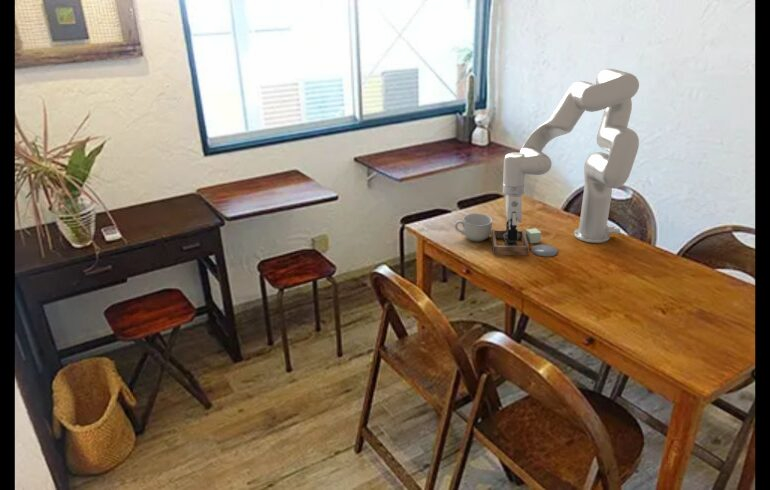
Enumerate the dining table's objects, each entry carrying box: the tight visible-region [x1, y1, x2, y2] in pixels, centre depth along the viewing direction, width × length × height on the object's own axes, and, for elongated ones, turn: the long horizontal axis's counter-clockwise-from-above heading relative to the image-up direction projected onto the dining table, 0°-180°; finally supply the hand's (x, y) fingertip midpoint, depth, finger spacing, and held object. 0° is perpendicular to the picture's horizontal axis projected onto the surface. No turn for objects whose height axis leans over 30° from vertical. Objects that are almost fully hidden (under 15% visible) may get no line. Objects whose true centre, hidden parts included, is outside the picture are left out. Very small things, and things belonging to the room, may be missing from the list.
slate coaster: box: [530, 243, 559, 258], centre depth 203 cm, size 9×9×1 cm
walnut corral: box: [490, 229, 530, 256], centre depth 207 cm, size 12×15×3 cm
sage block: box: [525, 228, 542, 244], centre depth 211 cm, size 4×4×4 cm
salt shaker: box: [503, 220, 520, 246], centre depth 205 cm, size 6×6×12 cm
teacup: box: [454, 212, 493, 242], centre depth 213 cm, size 14×11×8 cm
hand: (511, 235), depth 206 cm, fingers closed on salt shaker, 5 cm apart
